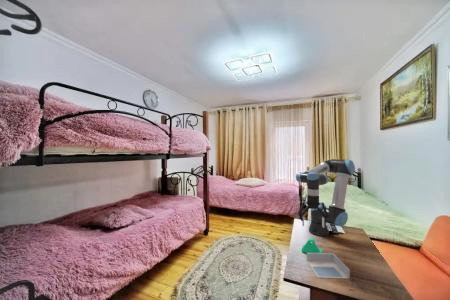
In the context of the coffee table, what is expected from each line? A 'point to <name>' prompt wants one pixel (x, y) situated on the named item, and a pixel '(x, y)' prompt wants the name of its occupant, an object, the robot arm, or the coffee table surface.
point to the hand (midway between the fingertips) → (313, 226)
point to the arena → (328, 265)
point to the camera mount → (311, 247)
